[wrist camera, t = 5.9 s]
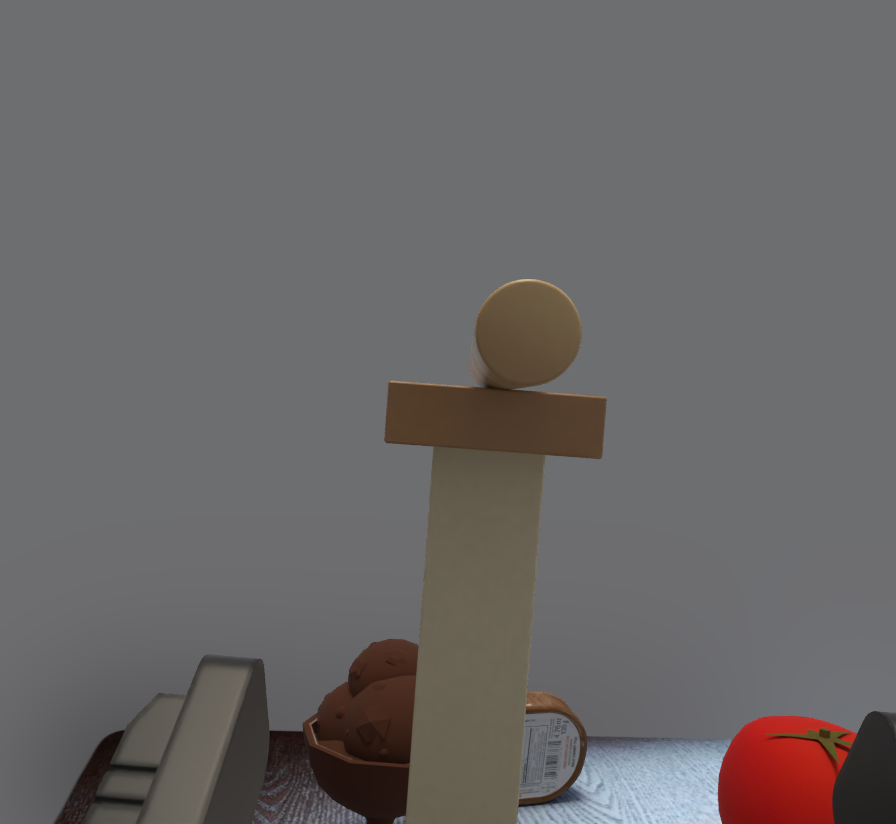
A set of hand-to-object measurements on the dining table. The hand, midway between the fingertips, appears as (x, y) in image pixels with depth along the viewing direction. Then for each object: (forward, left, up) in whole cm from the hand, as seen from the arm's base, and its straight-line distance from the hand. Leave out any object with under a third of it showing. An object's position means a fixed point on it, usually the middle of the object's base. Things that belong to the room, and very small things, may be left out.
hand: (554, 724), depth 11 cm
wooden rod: (+16, +6, +5) cm, 18 cm away
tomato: (+51, -8, -28) cm, 59 cm away
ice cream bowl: (+39, +19, -28) cm, 52 cm away
